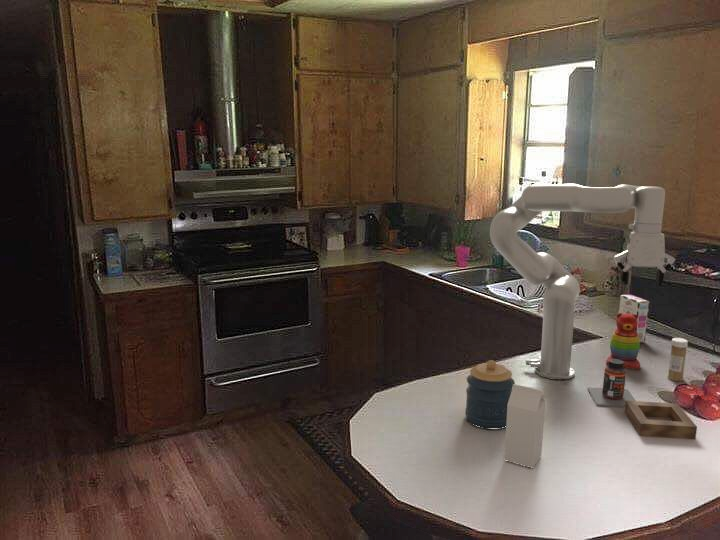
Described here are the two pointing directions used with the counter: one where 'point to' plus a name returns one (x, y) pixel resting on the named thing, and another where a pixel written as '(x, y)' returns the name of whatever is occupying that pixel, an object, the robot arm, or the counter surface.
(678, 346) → the sprinkles bottle
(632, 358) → the stacking bear
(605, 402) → the slate coaster
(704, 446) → the counter surface
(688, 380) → the counter surface
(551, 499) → the counter surface
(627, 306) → the candy bar box
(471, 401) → the canister
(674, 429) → the pocket block
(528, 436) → the milk carton
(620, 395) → the supplement bottle
